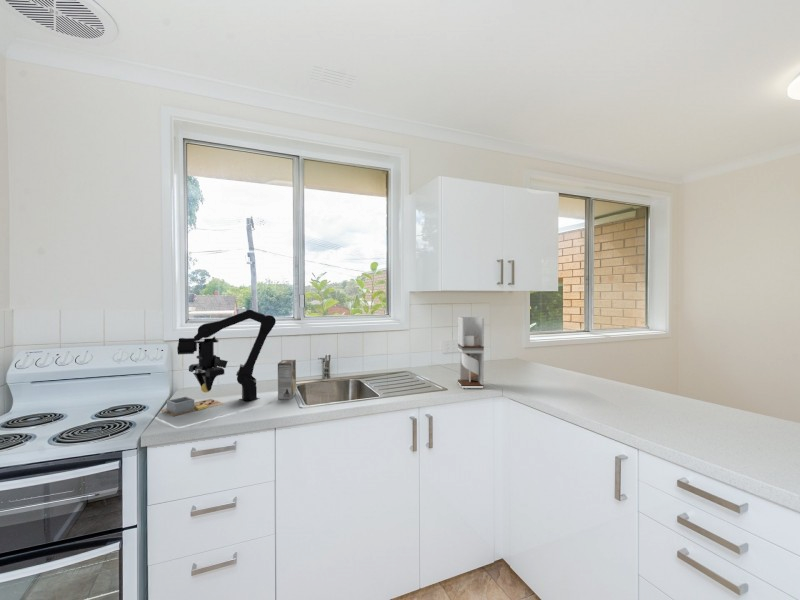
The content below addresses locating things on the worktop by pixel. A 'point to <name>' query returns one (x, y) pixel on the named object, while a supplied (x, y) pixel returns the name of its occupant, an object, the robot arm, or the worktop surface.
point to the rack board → (206, 402)
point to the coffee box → (286, 379)
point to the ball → (204, 388)
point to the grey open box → (180, 405)
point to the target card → (200, 407)
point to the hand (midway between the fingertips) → (206, 389)
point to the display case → (471, 350)
